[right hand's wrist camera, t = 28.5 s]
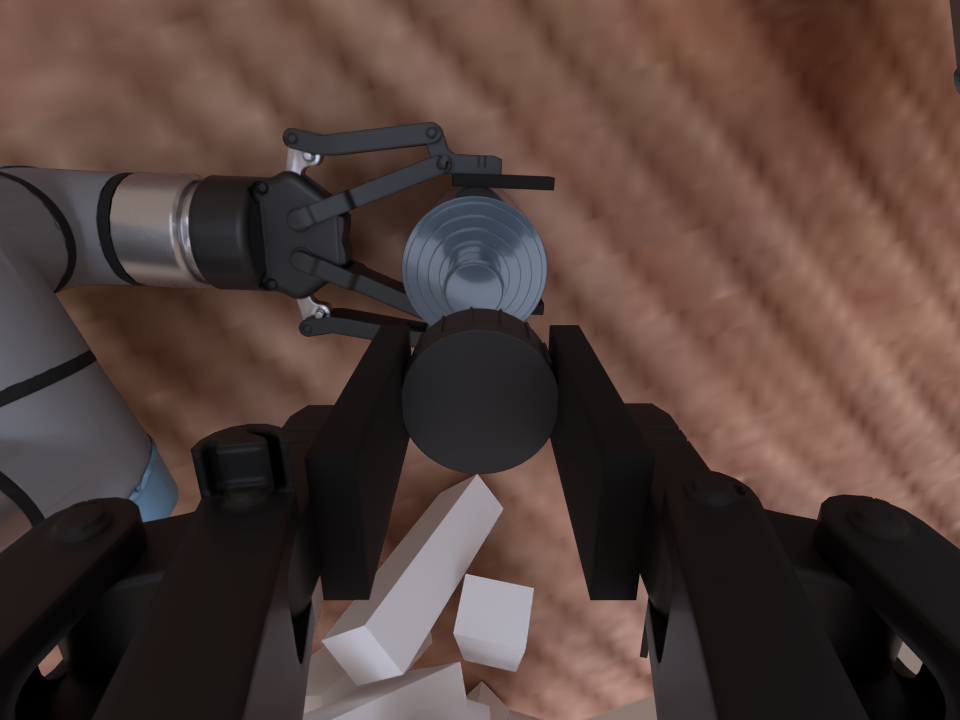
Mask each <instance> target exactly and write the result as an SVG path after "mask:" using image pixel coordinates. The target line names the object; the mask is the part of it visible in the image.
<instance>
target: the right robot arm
mask: <svg viewBox="0 0 960 720" xmlns="http://www.w3.org/2000/svg"><path fill="white" fill-rule="evenodd" d="M950 8H951V17H952V26H953V35H954V44H955V53H956V62H957V69H956V71H955V73H954V84H955V87H956V89H957V91H958V93H959V94H960V0H950ZM549 354H550V357H551V360H552V363H553V364H551V366H552V369H553V372H554V374H555V378H556V380H557V383H558V404H557V421H556V425H555V428H554V430H553V432H552V434H551V436H550V439H551V443H552V447H553V451H554V455H555V459H556V463H557V467H558V471H559V475H560V479H561V483H562V488H563V492H564V496H565V500H566V504H567V508H568V512H569V516H570V520H571V524H572V528H573V532H574V536H575V540H576V544H577V548H578V552H579V556H580V560H581V564H582V568H583V572H584V576H585V580H586V584H587V588H588V592H589V596H590V600H636V597H637V590H638V583H639V575H641V577H642V580H643V582H644V585H645V588H646V590H647V593H648V596H649V597H648V604H647V611H646V618H645V625H644V631H643V638H642V645H641V652H640V657H644V658H647V656H648V650H649V656H650V664H651V672H652V680H653V688H654V696H655V704H656V712H657V720H960V549H958V548H957V547H956V546H955V545H953V544H952V543H951V542H949V541H948V540H947V539H945V538H944V537H943V536H942V535H940V534H939V533H938V532H936V531H935V530H934V529H932V528H931V527H930V526H929V525H927V524H926V523H925V522H923V521H922V520H920V519H919V518H917V517H915V516H914V515H912V514H910V513H909V512H907V511H906V510H903V509H901V508H899V507H896V506H894V505H891V504H890V503H888V502H886V501H883V500H880V499H877V498H875V499H873V498H872V497H867V496H856V495H838V496H833V497H829V498H828V499H826V500H825V501H824V502H823V503H822V504H821V507H820V511H819V515H818V518H817V520H815V519H810V518H805V517H800V516H794V515H789V514H784V513H779V512H775V511H771V510H767V509H764V508H763V506H762V504H761V502H760V500H759V498H758V497H757V496H756V494H755V493H754V492H753V491H752V490H751V488H749V487H748V486H746V485H745V484H743V483H742V482H740V481H739V480H737V479H735V478H732V477H730V476H727V475H725V474H722V473H719V472H714V471H710V469H709V468H708V466H707V465H706V464H705V462H704V461H703V460H702V458H701V457H700V455H699V454H698V453H697V451H696V450H695V449H694V447H693V446H692V445H691V443H690V442H689V441H687V438H686V436H685V435H684V434H683V432H682V431H681V430H679V427H678V425H677V424H676V423H675V421H674V420H673V419H672V417H671V416H670V415H669V414H668V413H666V412H665V411H663V410H661V409H660V408H658V407H657V406H655V405H653V404H652V403H624V402H623V401H622V399H621V397H620V395H619V394H618V392H617V390H616V389H615V387H614V385H613V383H612V382H611V380H610V378H609V377H608V375H607V373H606V371H605V370H604V368H603V366H602V365H601V363H600V361H599V359H598V358H597V356H596V354H595V353H594V351H593V349H592V347H591V346H590V344H589V342H588V340H587V339H586V337H585V335H584V334H583V332H582V330H581V328H580V327H579V325H550V332H549ZM410 357H411V339H410V325H381V326H380V328H379V330H378V331H377V333H376V335H375V336H374V338H373V340H372V342H371V343H370V345H369V347H368V348H367V350H366V352H365V354H364V355H363V357H362V359H361V360H360V362H359V364H358V366H357V367H356V369H355V371H354V372H353V374H352V376H351V378H350V379H349V381H348V383H347V385H346V386H345V388H344V390H343V391H342V393H341V395H340V397H339V398H338V400H337V402H336V403H335V405H308V406H306V407H305V408H303V409H301V410H300V411H298V412H297V413H295V414H293V415H292V416H290V418H289V419H288V420H287V422H286V423H285V424H284V426H283V427H282V428H280V427H277V426H273V425H269V424H246V425H240V426H234V427H230V428H227V429H224V430H221V431H218V432H215V433H213V434H211V435H209V436H207V437H205V438H203V439H202V440H200V441H199V442H198V443H197V444H196V445H195V446H194V447H193V448H192V449H191V453H192V458H193V462H194V467H195V471H196V476H197V480H198V484H199V489H200V493H201V498H202V499H201V501H200V503H199V505H198V507H197V509H196V511H195V512H191V513H187V514H183V515H178V516H173V517H168V518H162V519H157V520H152V521H147V522H143V520H142V516H141V513H140V509H139V506H138V505H137V504H136V503H134V502H133V501H132V500H130V499H125V498H119V497H111V498H96V499H91V500H88V501H86V502H85V501H82V502H79V503H76V504H73V505H72V506H70V507H68V508H66V509H63V510H61V511H59V512H56V513H54V514H53V515H51V516H49V517H48V518H46V519H45V520H43V521H41V522H40V523H38V524H37V525H35V526H34V527H33V528H32V529H30V530H29V531H28V532H26V533H25V534H24V535H23V536H21V537H20V538H19V539H17V540H16V541H15V542H14V543H12V544H11V545H10V546H8V547H7V548H6V549H5V550H3V551H2V552H1V553H0V720H303V714H304V706H305V698H306V690H307V682H308V673H309V665H310V657H311V649H312V641H313V633H314V625H315V618H314V611H313V604H312V595H313V592H314V590H315V587H316V584H317V582H318V579H319V576H320V578H321V585H322V593H323V600H369V599H370V595H371V591H372V587H373V583H374V579H375V575H376V571H377V567H378V563H379V559H380V555H381V550H382V546H383V542H384V538H385V534H386V530H387V526H388V522H389V518H390V514H391V510H392V506H393V502H394V498H395V494H396V490H397V486H398V482H399V478H400V474H401V470H402V466H403V462H404V458H405V454H406V450H407V446H408V442H409V438H410V436H409V434H408V432H407V430H406V428H405V425H404V422H403V410H402V392H401V388H402V384H403V380H404V379H403V377H404V374H405V371H406V368H407V365H408V362H409V359H410ZM902 642H904V643H905V644H906V645H907V646H908V647H909V648H910V649H911V650H912V651H913V652H914V653H915V654H916V655H917V657H918V658H919V659H920V660H921V661H922V662H923V664H922V666H921V669H920V671H919V673H918V674H917V675H916V674H914V673H913V672H912V671H910V670H909V669H908V668H907V667H906V666H905V665H904V664H903V663H902V661H901V660H900V659H899V658H898V657H897V656H898V653H899V650H900V648H901V645H902ZM57 644H58V646H59V649H60V652H61V654H62V657H63V660H62V661H61V662H60V663H59V664H58V665H57V666H56V668H55V669H54V670H52V671H51V672H50V673H49V674H47V675H46V676H45V677H44V676H43V675H42V674H41V672H40V670H39V667H38V665H39V663H40V662H41V661H42V660H43V659H44V658H45V657H46V656H47V655H48V654H49V653H50V652H51V651H52V649H53V648H54V647H55V646H56V645H57Z"/></svg>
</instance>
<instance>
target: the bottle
mask: <svg viewBox="0 0 960 720" xmlns="http://www.w3.org/2000/svg"><path fill="white" fill-rule="evenodd" d="M546 278H547V259H546V253H545V249H544V246H543V243H542V241H541V238H540V236H539V234H538V233H537V231H536V229H535V228H534V226H533V225H532V224H531V222H530V221H529V220H528V219H527V217H526V216H525V215H524V214H523V213H522V211H521V210H520V209H519V208H518V206H517V205H516V204H515V203H514V201H513V200H512V199H511V198H510V197H509V196H508V195H507V194H506V193H505V192H504V191H502V190H501V189H500V188H483V187H458V186H455V187H453V188H452V189H450V190H449V191H447V192H446V193H445V194H444V195H443V196H442V197H441V198H440V199H439V200H438V201H437V202H436V203H435V204H434V205H433V207H432V208H431V209H430V210H429V211H428V212H427V213H426V214H425V215H424V216H423V217H422V219H421V220H420V221H419V222H418V223H417V224H416V226H415V227H414V229H413V230H412V232H411V234H410V236H409V238H408V240H407V242H406V245H405V249H404V252H403V258H402V279H403V284H404V288H405V291H406V294H407V296H408V299H409V301H410V303H411V304H412V306H413V308H414V309H415V311H416V312H417V313H418V315H419V316H420V317H421V318H422V319H423V320H424V321H425V322H426V323H428V324H429V325H430V326H432V325H433V324H435V323H436V322H437V321H439V320H440V319H441V317H442V316H443V315H445V317H446V316H447V315H450V314H452V313H455V312H458V311H462V310H466V309H470V307H473V309H474V308H487V309H494V310H498V311H499V309H502V310H503V312H505V313H508V314H510V315H512V316H515V317H516V318H518V319H520V320H521V321H523V322H524V321H525V320H526V319H527V318H528V317H529V316H530V315H531V313H532V312H533V311H534V309H535V308H536V306H537V305H538V303H539V301H540V299H541V297H542V294H543V292H544V288H545V284H546Z"/></svg>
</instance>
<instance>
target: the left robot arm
mask: <svg viewBox="0 0 960 720" xmlns="http://www.w3.org/2000/svg"><path fill="white" fill-rule="evenodd" d="M283 141H284V143H285V145H286V146H287V147H288V153H287V162H286V171H284V172H281V173H279V174H277V175H276V176H274V177H242V176H216V175H212V176H208V177H206V178H205V179H204V178H203V177H201V176H199V175H190V174H167V173H144V172H136V173H112V172H97V171H82V170H67V169H44V168H37V167H33V166H14V165H12V166H0V553H1V552H2V551H3V550H5V549H6V548H7V547H8V546H10V545H11V544H12V543H14V542H15V541H16V540H17V539H19V538H20V537H21V536H23V535H24V534H25V533H26V532H28V531H29V530H30V529H32V528H33V527H34V526H35V525H37V524H38V523H40V522H41V521H43V520H45V519H46V518H48V517H49V516H51V515H53V514H54V513H56V512H59V511H61V510H63V509H66V508H68V507H70V506H72V505H73V504H76V503H79V502H82V501H85V502H86V501H88V500H91V499H96V498H111V497H119V498H125V499H130V500H132V501H133V502H134V503H136V504H137V505H138V506H139V509H140V513H141V516H142V520H143V522H147V521H152V520H157V519H162V518H168V517H169V516H170V515H171V513H172V511H173V510H174V508H175V506H176V503H177V500H178V489H177V485H176V483H175V481H174V480H173V478H172V476H171V474H170V472H169V470H168V469H167V467H166V465H165V463H164V461H163V459H162V458H161V456H160V454H159V452H158V450H157V447H156V444H155V442H154V439H153V438H152V437H151V436H150V435H149V434H148V433H146V432H145V431H144V429H143V428H142V426H141V425H140V423H139V422H138V420H137V419H136V417H135V416H134V414H133V413H132V412H131V410H130V409H129V407H128V406H127V404H126V403H125V401H124V400H123V398H122V397H121V395H120V394H119V392H118V391H117V390H116V388H115V387H114V385H113V384H112V382H111V381H110V379H109V378H108V376H107V375H106V373H105V372H104V371H103V369H102V368H101V366H100V365H99V363H98V362H97V359H96V357H95V356H94V354H93V353H92V351H91V350H90V347H89V346H88V344H87V343H86V341H85V340H84V338H83V337H82V335H81V333H80V332H79V330H78V329H77V327H76V326H75V324H74V323H73V321H72V320H71V318H70V316H69V315H68V313H67V312H66V310H65V309H64V307H63V306H62V304H61V303H60V301H59V300H58V298H57V296H56V295H55V293H57V292H60V291H63V290H66V289H69V288H72V287H75V286H81V285H138V286H159V287H179V288H199V289H205V288H209V287H211V286H214V287H215V288H218V289H231V290H258V291H278V292H282V293H284V294H287V295H288V296H290V297H292V298H295V299H297V302H298V306H299V309H300V313H301V316H302V319H303V321H302V322H301V323H300V325H299V330H300V332H301V334H302V335H304V336H306V337H311V336H317V335H324V334H330V333H335V334H341V335H347V336H353V337H358V338H364V339H370V340H373V338H374V336H375V335H376V333H377V331H378V330H379V328H380V326H381V325H410V339H411V347H416V345H417V343H418V340H419V337H420V334H421V333H423V334H424V333H425V332H426V331H427V330H428V329H429V328H430V327H431V326H430V325H429V324H428V323H424V322H419V321H413V320H408V319H402V318H397V317H391V316H385V315H380V314H374V313H369V312H363V311H358V310H352V309H345V308H333V307H332V305H331V304H330V303H328V302H326V301H320V300H318V299H317V298H316V297H315V296H314V293H315V292H316V291H318V290H319V289H321V288H322V287H323V286H325V285H326V284H328V283H329V282H330V283H333V284H335V285H337V286H340V287H342V288H344V289H348V290H354V291H357V292H359V293H362V294H364V295H366V296H369V297H371V298H373V299H376V300H378V301H380V302H383V303H385V304H387V305H390V306H392V307H394V308H397V309H399V310H401V311H404V312H406V313H408V314H411V315H413V316H415V317H418V318H420V319H422V318H421V317H420V316H419V315H418V313H417V312H416V311H415V309H414V308H413V306H412V304H411V303H410V301H409V299H408V296H407V294H406V291H405V288H404V284H403V283H401V282H399V281H397V280H394V279H392V278H390V277H387V276H385V275H383V274H381V273H378V272H376V271H374V270H371V269H369V268H367V267H366V266H365V265H364V264H362V263H360V262H358V261H355V260H353V258H352V246H351V243H350V240H349V232H350V227H351V215H350V214H348V211H350V210H353V209H355V208H358V207H360V206H363V205H365V204H368V203H370V202H373V201H376V200H378V199H381V198H383V197H386V196H388V195H391V194H394V193H396V192H399V191H401V190H404V189H406V188H409V187H412V186H414V185H417V184H419V183H422V182H424V181H427V180H430V179H432V178H435V177H437V176H440V175H442V174H452V186H458V187H483V188H508V189H532V190H554V181H555V178H553V177H549V176H524V175H501V169H502V159H500V158H498V157H496V156H484V155H460V154H455V153H453V152H451V151H450V149H449V148H448V146H447V143H446V140H445V136H444V133H443V130H442V128H441V127H440V126H439V125H438V124H436V123H434V122H427V123H419V124H411V125H402V126H394V127H386V128H377V129H369V130H361V131H352V132H344V133H336V134H327V135H322V134H318V133H315V132H311V131H307V130H301V129H295V128H289V129H286V131H285V132H284V134H283ZM423 145H426V146H427V149H428V152H429V155H430V158H428V159H425V160H423V161H420V162H418V163H415V164H413V165H410V166H407V167H405V168H402V169H400V170H397V171H395V172H392V173H390V174H387V175H385V176H382V177H380V178H377V179H374V180H372V181H369V182H367V183H364V184H362V185H359V186H357V187H354V188H352V189H349V190H346V191H344V192H341V193H338V194H336V195H331V194H330V193H329V192H327V191H326V190H325V189H323V188H322V187H321V186H320V185H318V184H317V183H316V182H314V181H313V180H312V179H310V178H309V177H308V176H306V175H305V172H306V170H307V168H308V167H310V166H318V165H320V164H321V163H322V162H323V159H324V155H334V156H335V155H347V154H355V153H364V152H372V151H381V150H389V149H398V148H406V147H415V146H423ZM543 311H544V303H543V301H542V299H540V301H539V303H538V305H537V306H536V308H535V309H534V311H533V312H532V313H531V314H532V315H543ZM422 320H423V319H422Z"/></svg>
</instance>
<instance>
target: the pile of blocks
mask: <svg viewBox="0 0 960 720" xmlns="http://www.w3.org/2000/svg"><path fill="white" fill-rule="evenodd" d="M502 511H503V507H502V506H501V505H500V503H499V502H498V501H497V499H496V498H495V497H494V495H493V494H492V493H491V491H490V490H489V489H488V487H487V486H486V485H485V483H484V482H483V481H482V479H481V478H480V477H479V475H478V474H476V475H474V476H472V477H470V478H468V479H466V480H464V481H462V482H460V483H458V484H456V485H454V486H452V487H451V488H449V489H447V490H445V491H443V492H441V493H440V494H439V495H438V496H437V497H436V499H435V500H434V501H433V502H432V504H431V505H430V506H429V507H428V509H427V510H426V511H425V512H424V514H423V515H422V516H421V517H420V518H419V520H418V521H417V522H416V523H415V525H414V526H413V527H412V528H411V530H410V531H409V532H408V533H407V535H406V536H405V537H404V538H403V540H402V541H401V542H400V543H399V545H398V546H397V547H396V548H395V549H394V551H393V552H392V553H391V554H390V556H389V557H388V558H387V559H386V561H385V562H384V563H383V564H382V566H381V567H380V568H379V569H378V571H377V572H376V575H375V579H374V583H373V587H372V591H371V595H370V599H369V600H353V602H352V603H351V604H350V605H349V607H348V608H347V609H346V610H345V612H344V613H343V614H342V615H341V616H340V618H339V619H338V620H337V621H336V623H335V624H334V625H333V626H332V628H331V629H330V630H329V631H328V633H327V634H326V635H325V636H324V638H323V639H322V640H321V641H322V642H323V644H324V645H325V646H324V647H322V648H321V649H320V650H318V651H317V652H316V653H315V654H313V655H312V656H311V657H310V665H309V673H308V682H307V690H306V698H305V706H304V714H303V720H542V719H539V718H535V717H532V716H529V715H525V714H522V713H519V712H516V711H512V710H509V709H508V708H507V707H506V706H505V705H504V704H503V703H502V702H501V700H500V699H499V698H498V697H497V696H496V695H495V694H494V693H493V692H492V691H491V690H490V689H489V688H488V687H487V686H486V685H485V684H484V683H483V682H482V681H481V682H480V683H479V684H478V685H477V686H476V687H475V688H474V689H473V690H472V691H471V692H470V693H469V694H468V695H467V696H466V693H465V687H464V681H463V675H462V669H461V663H460V662H455V663H449V664H444V665H438V666H433V667H428V668H422V669H417V670H412V671H408V670H409V669H410V668H411V666H412V665H413V664H414V663H415V662H416V661H417V660H418V659H419V657H420V656H421V655H422V654H423V653H424V652H425V651H426V649H427V648H428V647H429V646H430V645H431V644H432V638H431V632H430V630H431V628H432V627H433V625H434V623H435V622H436V620H437V618H438V617H439V615H440V613H441V612H442V610H443V608H444V607H445V605H446V603H447V602H448V600H449V598H450V597H451V595H452V593H453V592H454V590H455V589H456V587H457V585H458V584H459V582H460V580H461V579H462V577H463V575H464V574H465V572H466V570H467V569H468V567H469V565H470V564H471V562H472V560H473V559H474V557H475V555H476V554H477V552H478V550H479V549H480V547H481V546H482V544H483V542H484V541H485V539H486V537H487V536H488V534H489V532H490V531H491V529H492V527H493V526H494V524H495V522H496V521H497V519H498V517H499V516H500V514H501V512H502ZM533 591H534V588H531V587H526V586H521V585H516V584H511V583H507V582H502V581H497V580H492V579H488V578H483V577H478V576H473V575H469V574H466V575H465V579H464V584H463V589H462V594H461V599H460V603H459V608H458V613H457V618H456V623H455V628H454V632H453V634H454V637H455V639H456V641H457V644H458V646H459V649H460V651H461V654H462V656H463V659H464V660H466V661H470V662H474V663H479V664H483V665H487V666H492V667H496V668H500V669H505V670H509V671H513V672H516V671H517V669H518V666H519V664H520V662H521V659H522V657H523V655H524V652H525V650H526V643H527V635H528V628H529V621H530V613H531V606H532V599H533ZM323 602H324V600H323V593H322V585H321V578H320V576H319V579H318V582H317V584H316V587H315V590H314V592H313V595H312V604H313V611H314V618H315V625H314V633H313V639H314V636H315V632H316V628H317V624H318V621H319V617H320V613H321V610H322V606H323ZM312 643H313V641H312Z"/></svg>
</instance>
